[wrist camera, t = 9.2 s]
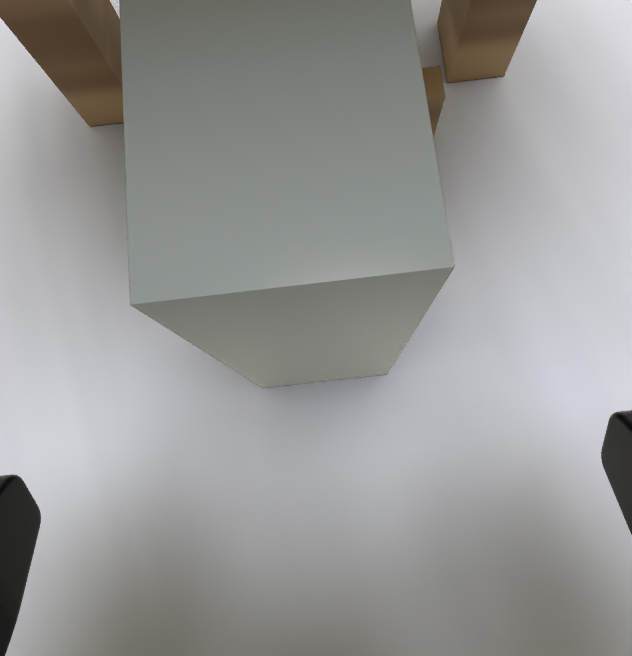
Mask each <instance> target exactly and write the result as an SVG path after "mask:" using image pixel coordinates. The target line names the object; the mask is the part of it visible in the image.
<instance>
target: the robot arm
mask: <svg viewBox="0 0 632 656" xmlns="http://www.w3.org/2000/svg"><path fill="white" fill-rule="evenodd" d="M601 458H602V464H603V467H604V470H605V472H606V475H607V477H608V479H609V482H610V484H611V487H612V489H613V491H614V494H615V496H616V499H617V501H618V503H619V506H620V508H621V511H622V513H623V515H624V518H625V520H626V523H627V525H628V527H629V530H630V532H631V535H632V410H631V411H621V412H615V413H613V414H612V415H611V417H610V419H609V422H608V426H607V430H606V434H605V438H604V442H603V447H602V452H601ZM40 523H41V514H40V510H39V507H38V505H37V504H36V502H35V500H34V498H33V497H32V495H31V493H30V492H29V490H28V488H27V486H26V485H25V483H24V481H23V480H22V478H20V477H19V476H17V475H4V476H0V656H5V654H6V651H7V648H8V645H9V643H10V640H11V637H12V633H13V630H14V627H15V624H16V621H17V617H18V614H19V610H20V606H21V602H22V598H23V594H24V590H25V586H26V582H27V578H28V573H29V569H30V565H31V561H32V557H33V553H34V549H35V544H36V540H37V536H38V532H39V528H40Z"/></svg>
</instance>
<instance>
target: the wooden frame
mask: <svg viewBox="0 0 632 656" xmlns="http://www.w3.org/2000/svg"><path fill="white" fill-rule="evenodd" d="M536 1H537V0H442V3H441V8H440V13H439V17H438V22H437V24H438V30H439V36H440V42H441V48H442V53H443V59H444V65H445V71H446V77H447V83H450V82H458V81H466V80H474V79H483V78H491V77H499V76H504V75H505V72H506V70H507V68H508V65H509V63H510V61H511V58H512V56H513V54H514V52H515V49H516V47H517V45H518V42H519V40H520V38H521V36H522V33H523V31H524V29H525V26H526V24H527V22H528V20H529V17H530V15H531V13H532V10H533V8H534V6H535V3H536ZM0 18H1V19H2V20H3V21H4V22H5V24H6V25H7V26H8V27H9V29H10V30H11V31H12V32H13V33H14V35H15V36H16V37H17V38H18V40H19V41H20V42H21V43H22V44H23V46H24V47H25V48H26V49H27V51H28V52H29V53H30V54H31V55H32V57H33V58H34V59H35V60H36V62H37V63H38V64H39V65H40V66H41V68H42V69H43V70H44V71H45V73H46V74H47V75H48V76H49V77H50V79H51V80H52V81H53V82H54V84H55V85H56V86H57V87H58V88H59V90H60V91H61V92H62V93H63V95H64V96H65V97H66V98H67V100H68V101H69V102H70V103H71V104H72V106H73V107H74V108H75V109H76V111H77V112H78V113H79V114H80V115H81V117H82V118H83V119H84V120H85V122H86V123H87V124H88V125H89V126H98V125H106V124H115V123H123V122H124V117H123V88H122V59H121V30H120V19H119V17H118V15H117V13H116V12H115V10H114V8H113V6H112V4H111V2H110V0H0ZM422 74H423V80H424V86H425V92H426V98H427V104H428V110H429V116H430V122H431V128H432V134H433V136H434V132H435V129H436V125H437V122H438V118H439V115H440V111H441V108H442V105H443V101H444V98H445V93H444V87H443V81H442V75H441V69H440V66H436V67H428V68H422Z"/></svg>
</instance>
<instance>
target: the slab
mask: <svg viewBox="0 0 632 656" xmlns="http://www.w3.org/2000/svg"><path fill="white" fill-rule="evenodd" d="M119 1H120V30H121V59H122V88H123V117H124V146H125V175H126V204H127V232H128V261H129V290H130V305H131V306H133V307H134V308H136V309H138V310H139V311H141V312H142V313H144V314H146V315H147V316H149V317H150V318H152V319H154V320H155V321H157V322H158V323H160V324H162V325H163V326H165V327H166V328H168V329H169V330H171V331H173V332H174V333H176V334H177V335H179V336H181V337H182V338H184V339H185V340H187V341H189V342H190V343H192V344H193V345H195V346H197V347H198V348H200V349H201V350H203V351H205V352H206V353H208V354H209V355H211V356H213V357H214V358H216V359H217V360H219V361H221V362H222V363H224V364H225V365H227V366H228V367H230V368H232V369H233V370H235V371H236V372H238V373H240V374H241V375H243V376H244V377H246V378H248V379H249V380H251V381H252V382H254V383H256V384H257V385H259V386H260V387H262V388H268V387H278V386H287V385H296V384H305V383H314V382H323V381H332V380H341V379H350V378H359V377H368V376H377V375H386V374H387V373H388V371H389V370H390V368H391V367H392V365H393V363H394V362H395V360H396V359H397V357H398V356H399V354H400V352H401V351H402V349H403V348H404V346H405V345H406V343H407V341H408V340H409V338H410V337H411V335H412V333H413V332H414V330H415V329H416V327H417V326H418V324H419V322H420V321H421V319H422V318H423V316H424V314H425V313H426V311H427V310H428V308H429V307H430V305H431V303H432V302H433V300H434V299H435V297H436V296H437V294H438V292H439V291H440V289H441V288H442V286H443V284H444V283H445V281H446V280H447V278H448V277H449V275H450V273H451V272H452V270H453V269H454V267H455V266H454V260H453V254H452V248H451V242H450V236H449V230H448V224H447V218H446V212H445V206H444V200H443V194H442V188H441V182H440V176H439V170H438V164H437V158H436V152H435V146H434V140H433V134H432V128H431V122H430V116H429V110H428V104H427V98H426V92H425V86H424V80H423V74H422V68H421V62H420V56H419V50H418V44H417V38H416V32H415V26H414V20H413V14H412V8H411V2H410V0H119Z"/></svg>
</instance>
